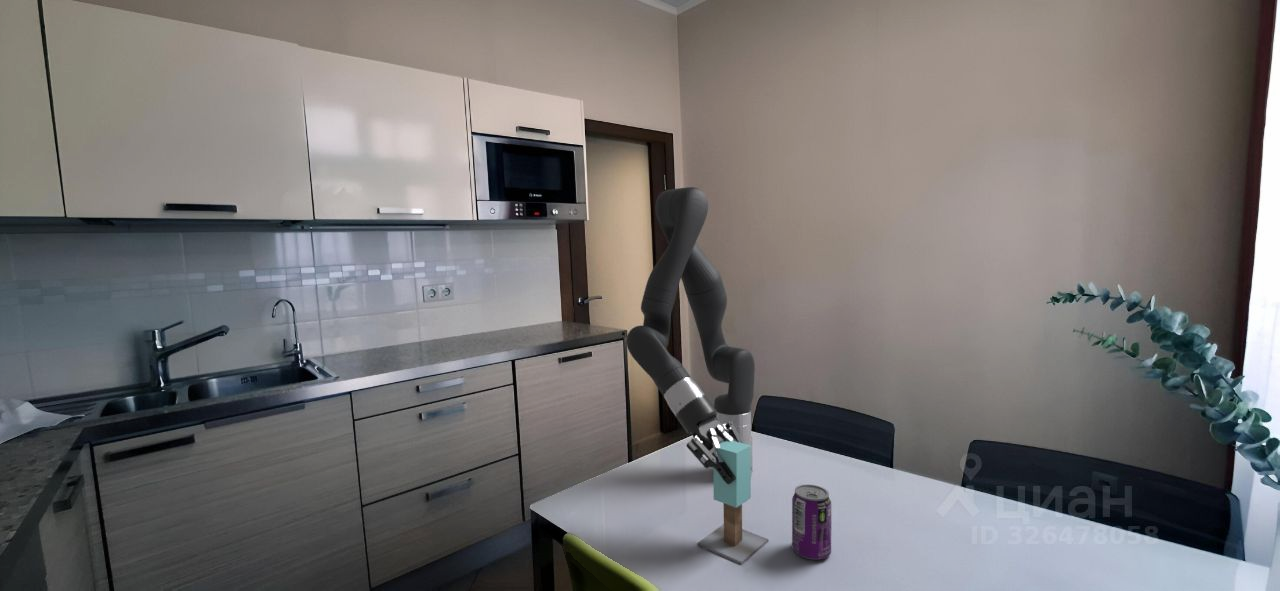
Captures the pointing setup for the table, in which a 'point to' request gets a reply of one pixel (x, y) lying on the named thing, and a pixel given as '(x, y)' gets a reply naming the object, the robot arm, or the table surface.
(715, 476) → the tall teal block
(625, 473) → the table surface
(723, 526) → the post
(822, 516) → the beverage can
